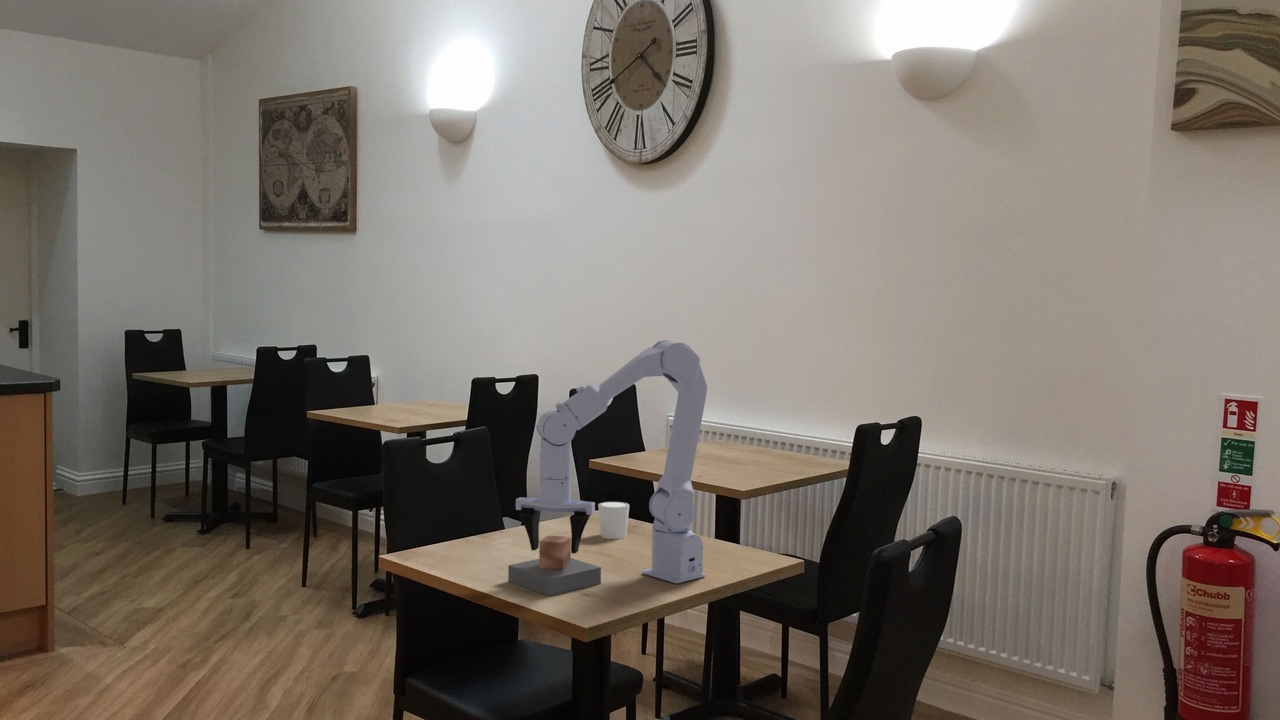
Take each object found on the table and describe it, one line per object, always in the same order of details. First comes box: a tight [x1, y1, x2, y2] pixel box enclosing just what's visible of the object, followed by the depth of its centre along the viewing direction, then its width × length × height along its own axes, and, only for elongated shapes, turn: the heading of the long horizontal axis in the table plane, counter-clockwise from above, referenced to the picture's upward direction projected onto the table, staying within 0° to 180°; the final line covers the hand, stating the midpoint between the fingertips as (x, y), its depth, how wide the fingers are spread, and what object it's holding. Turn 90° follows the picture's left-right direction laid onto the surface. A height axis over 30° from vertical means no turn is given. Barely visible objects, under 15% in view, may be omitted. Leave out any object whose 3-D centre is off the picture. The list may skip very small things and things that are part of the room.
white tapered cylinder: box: [597, 501, 630, 540], centre depth 225 cm, size 7×7×7 cm
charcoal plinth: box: [507, 557, 602, 597], centre depth 189 cm, size 12×12×3 cm
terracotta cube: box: [538, 534, 572, 570], centre depth 189 cm, size 4×4×5 cm
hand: (554, 550), depth 188 cm, fingers open, 7 cm apart
